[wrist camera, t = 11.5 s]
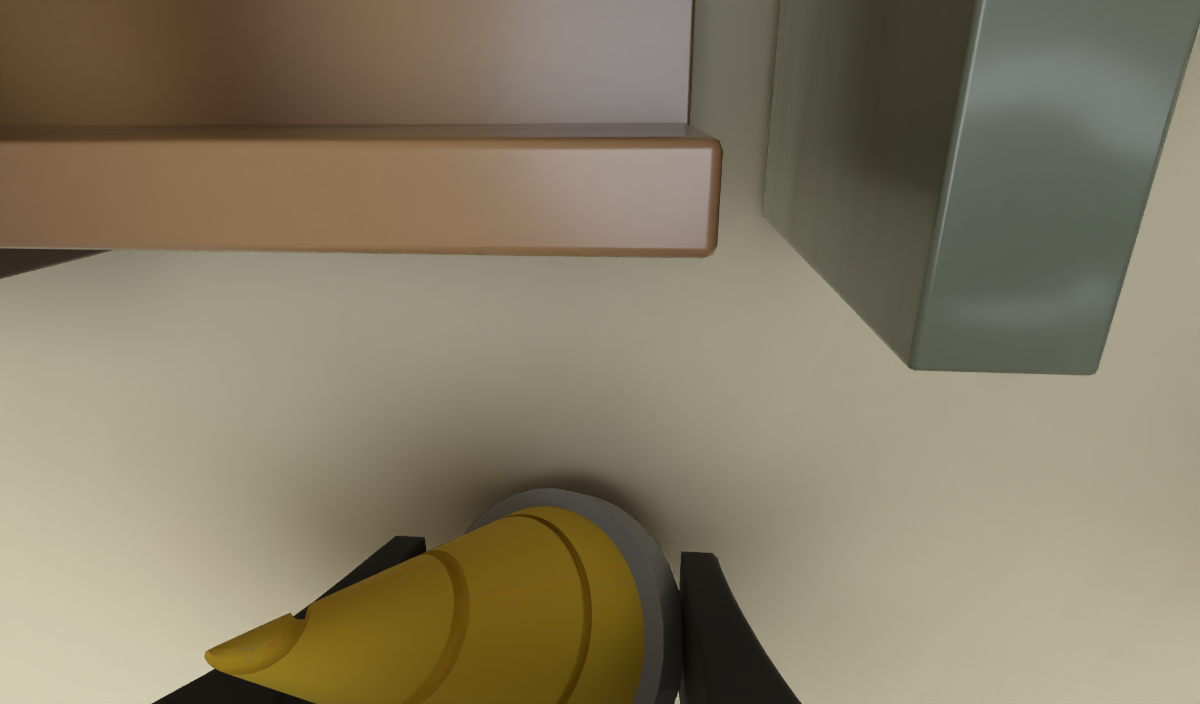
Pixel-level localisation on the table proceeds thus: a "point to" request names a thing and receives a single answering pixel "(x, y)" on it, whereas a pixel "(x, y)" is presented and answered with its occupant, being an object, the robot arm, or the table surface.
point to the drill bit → (490, 618)
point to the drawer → (617, 144)
